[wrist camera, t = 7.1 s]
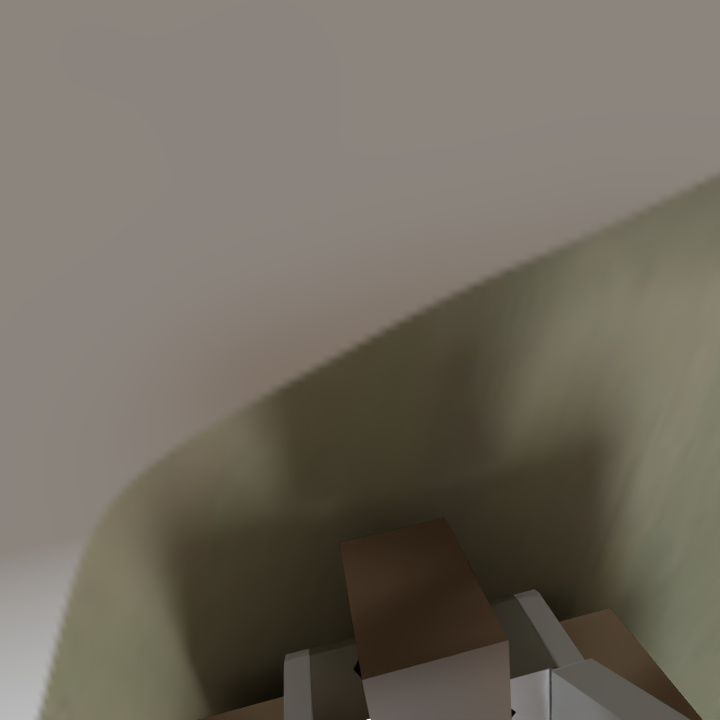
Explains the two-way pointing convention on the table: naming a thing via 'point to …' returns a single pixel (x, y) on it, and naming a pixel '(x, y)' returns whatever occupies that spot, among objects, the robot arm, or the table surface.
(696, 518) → the table surface
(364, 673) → the tray
